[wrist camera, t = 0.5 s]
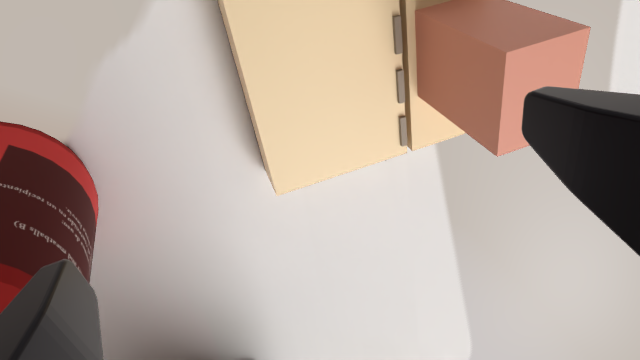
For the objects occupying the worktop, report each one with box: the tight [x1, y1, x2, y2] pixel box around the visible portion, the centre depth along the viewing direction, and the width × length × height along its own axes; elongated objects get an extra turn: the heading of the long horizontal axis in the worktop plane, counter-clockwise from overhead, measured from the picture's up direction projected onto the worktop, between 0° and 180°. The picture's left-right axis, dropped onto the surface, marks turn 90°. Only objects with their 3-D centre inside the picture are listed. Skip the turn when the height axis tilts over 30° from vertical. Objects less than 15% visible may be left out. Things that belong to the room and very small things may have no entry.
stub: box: [399, 0, 590, 157], centre depth 19 cm, size 10×4×8 cm, turn 10°
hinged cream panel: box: [218, 0, 407, 196], centre depth 20 cm, size 10×7×3 cm
